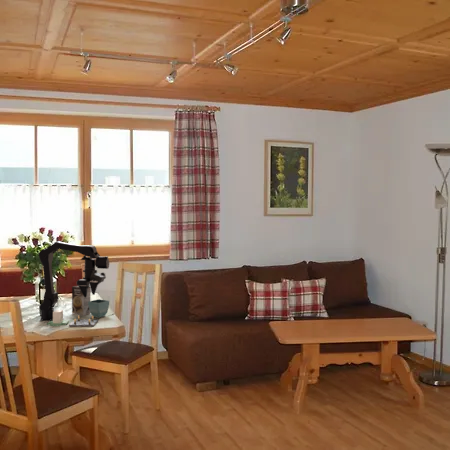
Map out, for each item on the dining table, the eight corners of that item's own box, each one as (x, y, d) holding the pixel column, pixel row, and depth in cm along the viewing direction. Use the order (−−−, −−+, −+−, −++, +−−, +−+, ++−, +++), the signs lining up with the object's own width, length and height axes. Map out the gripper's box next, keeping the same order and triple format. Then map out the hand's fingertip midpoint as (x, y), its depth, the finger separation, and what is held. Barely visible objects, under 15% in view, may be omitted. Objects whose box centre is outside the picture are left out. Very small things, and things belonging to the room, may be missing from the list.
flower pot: (99, 318, 312) (98, 303, 312) (87, 317, 317) (87, 301, 316) (109, 316, 320) (109, 300, 319) (98, 314, 324) (98, 299, 324)
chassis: (68, 326, 293) (68, 320, 292) (75, 321, 306) (74, 314, 305) (93, 326, 293) (93, 320, 293) (98, 321, 306) (98, 314, 306)
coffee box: (71, 313, 325) (71, 286, 325) (79, 311, 331) (79, 285, 330) (83, 315, 321) (83, 287, 320) (90, 313, 327) (90, 286, 326)
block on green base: (45, 326, 294) (45, 312, 294) (51, 321, 304) (51, 309, 304) (64, 326, 294) (64, 312, 294) (69, 321, 304) (69, 309, 304)
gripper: (94, 271, 296) (94, 299, 296) (110, 267, 314) (110, 294, 314) (76, 269, 298) (75, 298, 299) (93, 266, 316) (92, 293, 317)
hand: (89, 296), depth 307 cm, fingers open, 9 cm apart
